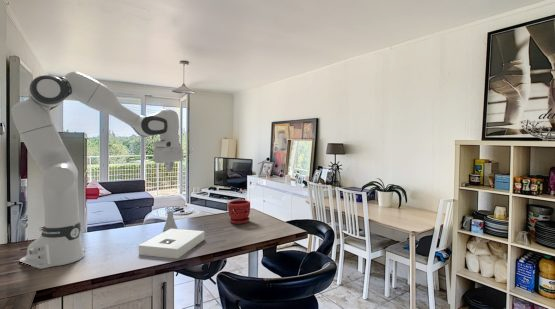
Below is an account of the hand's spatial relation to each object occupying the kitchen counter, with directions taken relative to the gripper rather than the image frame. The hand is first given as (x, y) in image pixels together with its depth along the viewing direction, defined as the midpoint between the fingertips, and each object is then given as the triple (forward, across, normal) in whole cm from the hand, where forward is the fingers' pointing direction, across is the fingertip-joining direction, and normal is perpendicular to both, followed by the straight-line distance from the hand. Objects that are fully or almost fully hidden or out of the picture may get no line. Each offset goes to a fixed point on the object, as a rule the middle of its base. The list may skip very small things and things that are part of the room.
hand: (169, 171), depth 144 cm
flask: (+33, -10, -6) cm, 35 cm away
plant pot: (+33, -34, +24) cm, 53 cm away
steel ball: (+31, +16, +9) cm, 36 cm away
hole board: (+33, +11, +9) cm, 36 cm away
